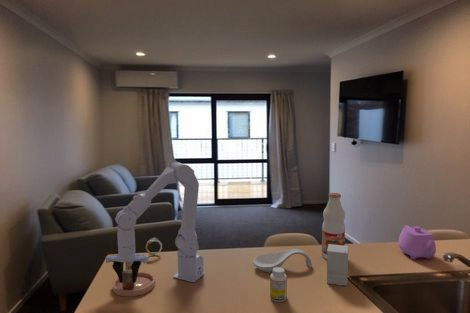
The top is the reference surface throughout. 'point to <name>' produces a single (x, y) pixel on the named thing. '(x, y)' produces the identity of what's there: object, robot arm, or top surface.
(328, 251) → the supplement box
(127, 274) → the brown short cylinder
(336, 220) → the fruit juice
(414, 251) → the purple animal planter
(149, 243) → the ring
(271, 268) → the spoon rest
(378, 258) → the top surface
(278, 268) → the supplement bottle
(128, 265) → the beige tall rounded piece
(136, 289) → the dish
